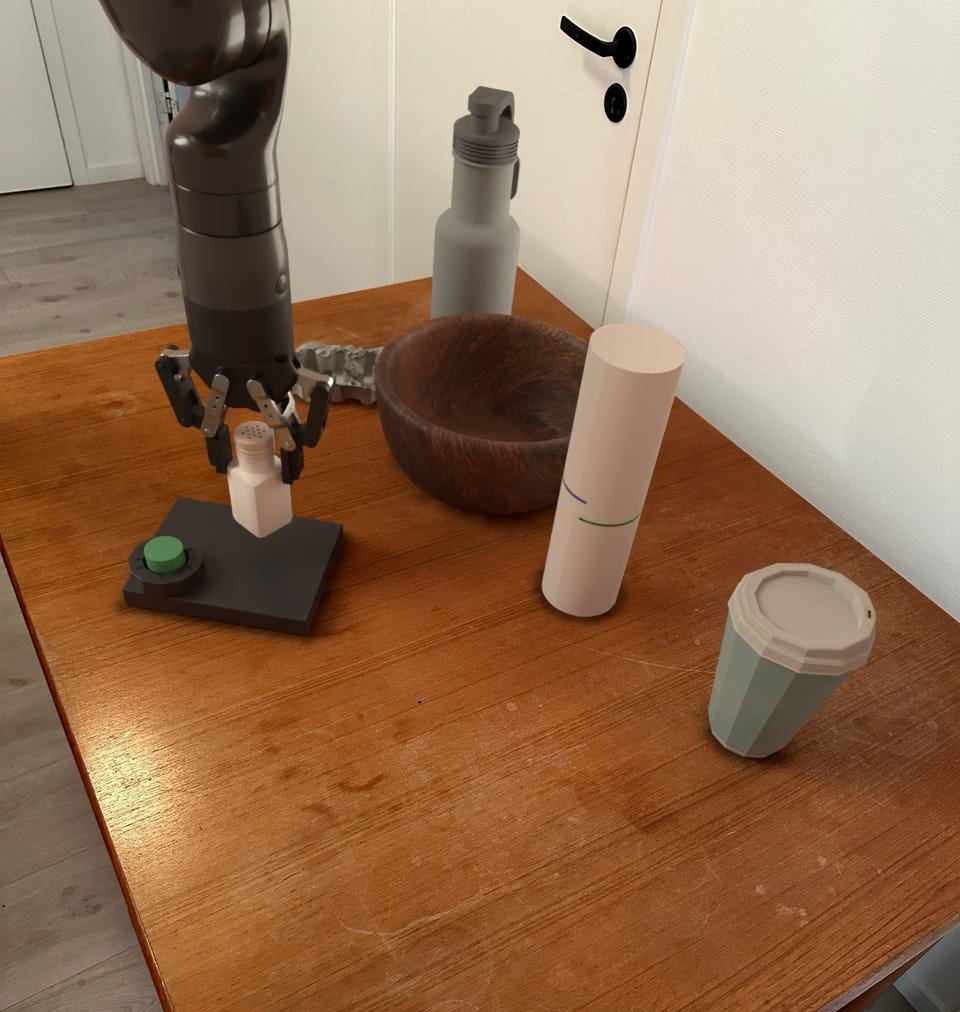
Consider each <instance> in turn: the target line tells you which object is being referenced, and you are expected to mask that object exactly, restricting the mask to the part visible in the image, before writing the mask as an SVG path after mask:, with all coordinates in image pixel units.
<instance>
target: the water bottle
mask: <svg viewBox="0 0 960 1012" xmlns="http://www.w3.org/2000/svg"><path fill="white" fill-rule="evenodd" d="M515 106H516V103H515V95H514V93H513V91H509V90H505V89H498V88H493V87H489V86H483V85H479V86H477V87H476V89H475V90H473V92H471V93H470V94H469V95H468V98H467V111H468V112H470V113H469V114H466V115H463V116H461V117H459V118H458V119H456V120H455V121H454V123H453V131H452V132H453V133H452V146H451V147H452V150H451V156H452V157H453V166H452V168H453V169H452V185H451V198H450V199H451V200H450V207H449V208H447V209H446V210H444V211H443V212H441V214H440V215H439V217H438V218H437V220H436V223H435V226H434V227H435V228H434V245H433V259H432V260H433V262H432V278H431V279H432V280H431V298H430V299H431V300H430V319H429V320H431V319H434V318H438V317H443V316H449V315H456V314H467V313H493V314H505V315H512V309H513V300H514V293H515V292H514V291H515V285H516V284H515V283H516V277H517V268H518V259H519V253H520V252H519V251H520V244H521V229H520V226H519V224H518V222H517V221H516V219H515V218H514V217H513V216H512V215H511V214H510V207H511V206H510V204H511V200H513V199H514V198H515V197H516V195H517V194H518V193H517V192H518V187H519V179H520V171H521V170H520V169H521V160H520V159H521V158H520V157H519V156H518V148H519V140H520V138H521V130H520V128H519V126H518V125H517V124H515V123H514V122H515V111H516V109H515V108H516V107H515Z"/></svg>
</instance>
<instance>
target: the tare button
mask: <svg viewBox="0 0 960 1012" xmlns="http://www.w3.org/2000/svg"><path fill="white" fill-rule="evenodd" d="M144 554H145V558H146V562H147V566H148V568H149V569H150V570H151V571H153V572H155V573H158V574H168V573H174V572H176V571H178V570H180V569H181V568H182V567H183V566H184V564H185V562H186V557H185V553H184V548H183V544H182V542H181V541H180V540H179V539H177V538H175V537H171V536H161V537H157V538H154V539H152V540H151V541H149V542H148V543H147V544H146V545H145V548H144Z"/></svg>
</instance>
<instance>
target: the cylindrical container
mask: <svg viewBox="0 0 960 1012" xmlns="http://www.w3.org/2000/svg"><path fill="white" fill-rule="evenodd" d="M588 343H589V346H588V351H587V356H586V362H585V367H584V372H583V377H582V382H581V387H580V392H579V397H578V402H577V407H576V413H575V418H574V423H573V428H572V433H571V438H570V443H569V448H568V453H567V458H566V463H565V468H564V474H563V478H562V484H561V489H560V494H559V499H558V502H557V505H556V510H555V515H554V520H553V524H552V530H551V534H550V539H549V544H548V550H547V555H546V560H545V565H544V571H543V576H542V581H541V589H542V593H543V595H544V597H545V599H546V600H547V602H548V603H550V604H551V605H552V606H553V607H554V608H556V609H557V610H559V611H561V612H563V613H565V614H567V615H571V616H575V617H580V618H581V617H583V618H584V617H585V618H586V617H587V618H588V617H589V618H590V617H595V616H596V617H597V616H599V615H602V614H604V613H607V612H608V611H610V610H611V608H613V606H614V605H615V604H616V601H617V598H618V594H619V592H620V588H621V585H622V581H623V578H624V574H625V570H626V567H627V563H628V560H629V558H630V557H629V556H630V553H631V550H632V546H633V543H634V540H635V536H636V533H637V529H638V526H639V522H640V519H641V516H642V511H643V508H644V504H645V502H646V497H647V495H648V491H649V488H650V483H651V480H652V477H653V473H654V470H655V467H656V463H657V459H658V455H659V454H660V453H659V452H660V448H661V445H662V442H663V440H664V439H663V438H664V435H665V431H666V427H667V425H668V421H669V417H670V414H671V410H672V407H673V404H674V399H675V396H676V393H677V390H678V386H679V383H680V379H681V375H682V371H683V368H684V365H685V361H686V358H687V352H686V348H685V346H684V345H683V344H682V342H680V340H678V339H677V338H676V337H675V336H673V335H672V334H671V333H669V332H667V331H665V330H663V329H662V328H661V329H660V328H658V327H655V326H652V325H649V324H648V325H647V324H645V323H644V324H643V323H638V322H628V321H627V322H625V321H624V322H623V321H621V322H612V323H608V324H604V325H602V326H600V327H598V328H596V329H595V330H594V331H593V332H591V335H590V337H589V341H588Z"/></svg>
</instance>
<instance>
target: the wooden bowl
mask: <svg viewBox="0 0 960 1012" xmlns="http://www.w3.org/2000/svg"><path fill="white" fill-rule="evenodd" d="M588 346H589V341H586V340H585V339H583V338H581V337H580V336H578V335H576V334H574V333H572V332H570V331H568V330H566V329H564V328H561V327H559V326H555V325H553V324H551V323H547V322H543V321H540V320H537V319H534V318H533V319H532V318H529V317H523V316H519V315H512V314H511V315H505V314H493V313H467V314H456V315H449V316H443V317H438V318H434V319H431V320H430V319H428V320H424V321H421V322H418V323H416V324H414V325H412V326H410V327H408V328H406V329H404V330H402V331H401V332H398V333H397V334H396V335H395V336H393V337H392V338H391V339H390V340H389V341H388V342H387V343H386V344H385V345H384V348H383V349H382V351H381V353H380V354H379V357H378V360H377V363H376V367H375V372H374V379H375V390H376V397H377V400H376V402H377V409H378V414H379V415H378V416H379V421H380V425H381V429H382V432H383V436H384V439H385V442H386V444H387V446H388V449H389V451H390V454H391V455H392V457H393V458H394V460H395V462H396V464H397V465H398V467H399V468H400V469H401V471H402V472H403V474H405V476H406V477H407V478H408V480H410V481H411V482H412V483H413V485H415V486H416V487H417V488H418V489H420V490H421V491H423V492H425V493H426V494H427V495H429V496H430V497H432V498H434V499H436V500H438V501H440V502H442V503H445V504H447V505H449V506H452V507H455V508H457V509H461V510H465V511H468V512H473V513H480V514H487V515H518V514H523V513H529V512H534V511H537V510H541V509H544V508H548V507H550V506H552V505H555V504H556V503H557V504H558V499H559V494H560V489H561V484H562V478H563V474H564V468H565V463H566V458H567V453H568V448H569V443H570V438H571V433H572V428H573V423H574V418H575V413H576V407H577V402H578V397H579V392H580V387H581V382H582V377H583V372H584V367H585V362H586V356H587V351H588Z"/></svg>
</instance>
